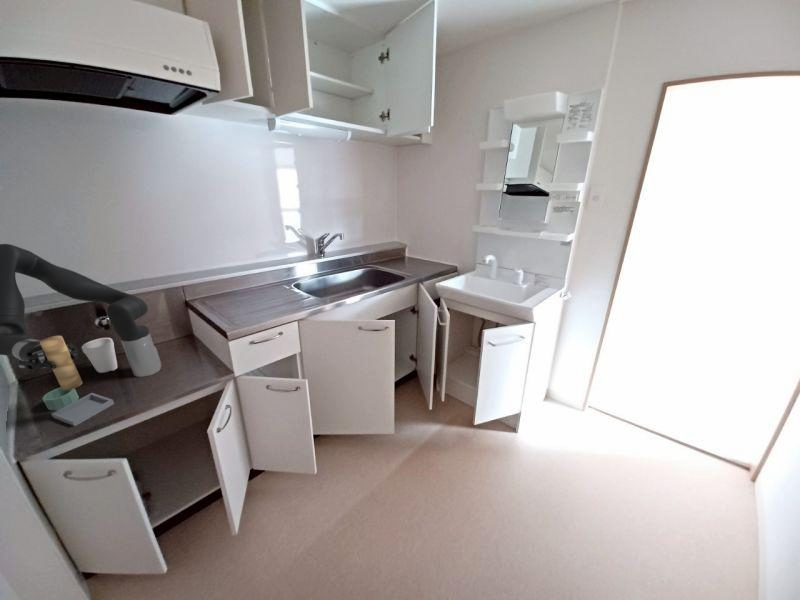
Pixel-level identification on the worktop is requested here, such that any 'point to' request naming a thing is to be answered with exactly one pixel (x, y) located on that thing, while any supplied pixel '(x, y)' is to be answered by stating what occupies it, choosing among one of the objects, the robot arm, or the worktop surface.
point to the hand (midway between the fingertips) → (65, 361)
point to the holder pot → (60, 398)
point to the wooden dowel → (61, 362)
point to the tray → (82, 409)
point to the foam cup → (101, 354)
